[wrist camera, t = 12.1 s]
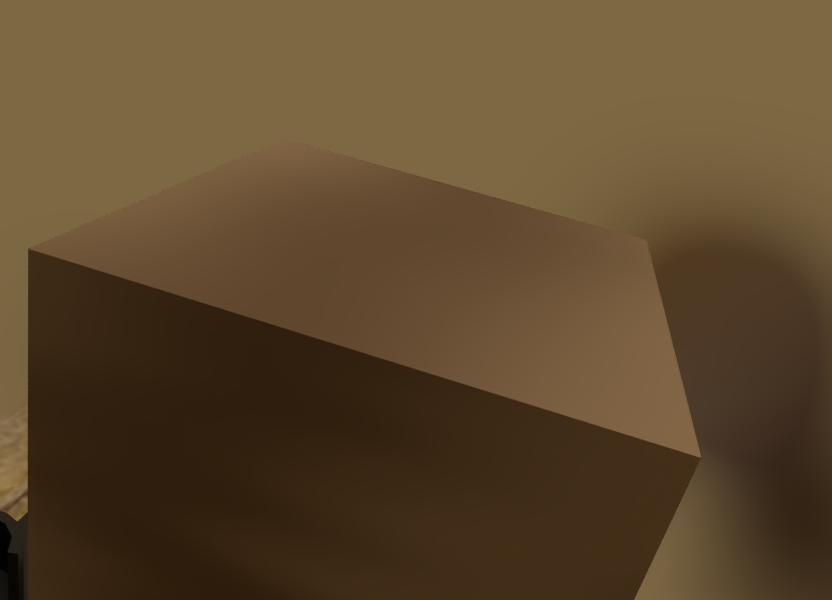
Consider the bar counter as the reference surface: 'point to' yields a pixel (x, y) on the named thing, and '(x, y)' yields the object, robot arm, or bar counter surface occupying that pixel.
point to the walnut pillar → (347, 395)
